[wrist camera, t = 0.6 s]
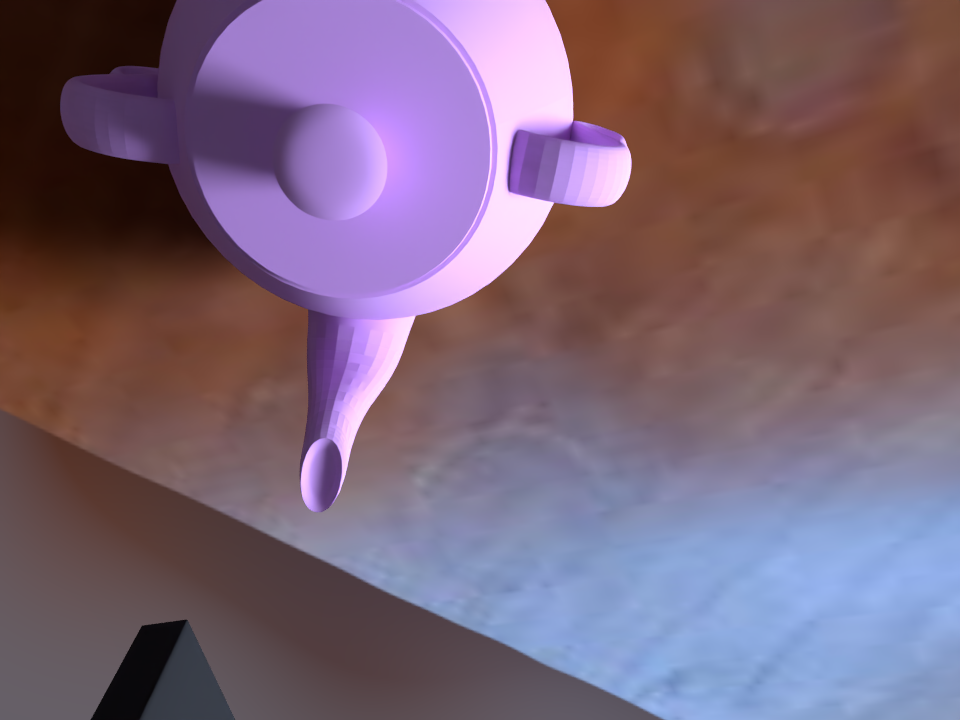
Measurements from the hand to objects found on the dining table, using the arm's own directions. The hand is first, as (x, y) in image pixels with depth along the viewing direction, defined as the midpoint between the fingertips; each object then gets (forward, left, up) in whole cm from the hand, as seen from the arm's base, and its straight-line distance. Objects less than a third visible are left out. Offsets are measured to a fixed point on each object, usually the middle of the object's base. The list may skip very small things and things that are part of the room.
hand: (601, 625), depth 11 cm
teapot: (-4, -6, -27) cm, 28 cm away
